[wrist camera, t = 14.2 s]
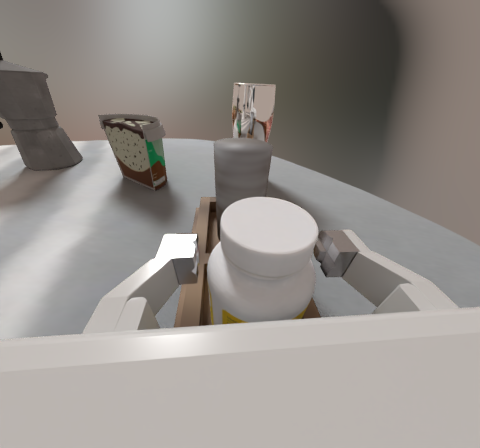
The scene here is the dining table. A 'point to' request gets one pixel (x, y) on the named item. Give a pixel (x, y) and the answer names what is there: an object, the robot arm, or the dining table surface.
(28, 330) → the dining table surface
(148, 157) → the food container
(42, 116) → the coffeepot
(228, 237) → the supplement bottle
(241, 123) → the beer glass
